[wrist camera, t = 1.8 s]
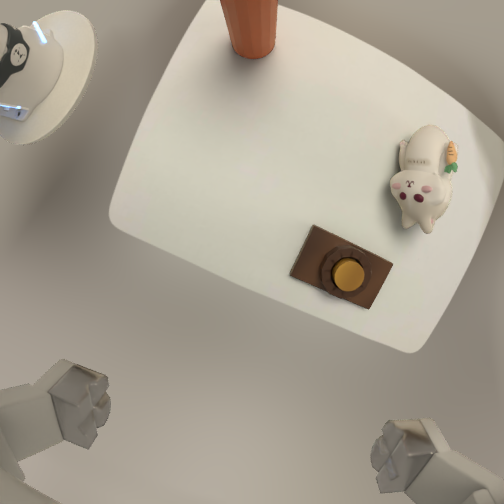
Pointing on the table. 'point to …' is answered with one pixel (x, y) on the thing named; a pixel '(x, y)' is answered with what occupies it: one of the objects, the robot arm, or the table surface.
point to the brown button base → (327, 255)
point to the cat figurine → (424, 177)
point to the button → (348, 274)
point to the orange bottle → (251, 26)
